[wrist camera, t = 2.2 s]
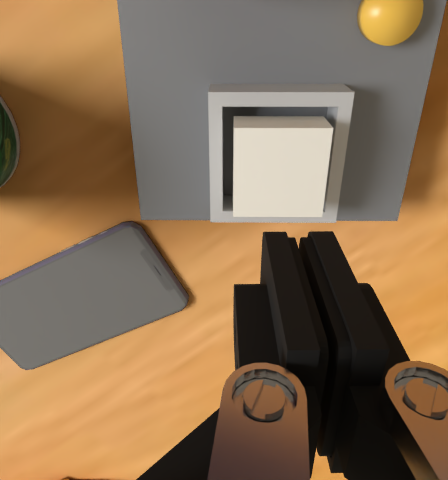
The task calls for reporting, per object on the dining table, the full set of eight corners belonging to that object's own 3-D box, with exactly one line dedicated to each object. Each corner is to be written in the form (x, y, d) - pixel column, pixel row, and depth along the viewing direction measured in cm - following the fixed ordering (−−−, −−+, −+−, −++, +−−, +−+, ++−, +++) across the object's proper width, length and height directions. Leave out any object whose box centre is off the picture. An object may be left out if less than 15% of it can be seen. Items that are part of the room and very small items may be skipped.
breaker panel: (476, -292, 16) (568, -400, 12) (380, 198, 26) (410, 238, 22) (104, -289, 16) (57, -395, 12) (149, 197, 26) (133, 237, 22)
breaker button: (323, 116, 19) (333, 128, 17) (314, 198, 21) (322, 217, 19) (233, 116, 19) (234, 127, 17) (232, 198, 21) (233, 216, 19)
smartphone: (-47, 304, 30) (132, 220, 26) (-40, 296, 31) (136, 213, 27) (24, 374, 33) (193, 307, 29) (29, 364, 34) (194, 299, 30)
